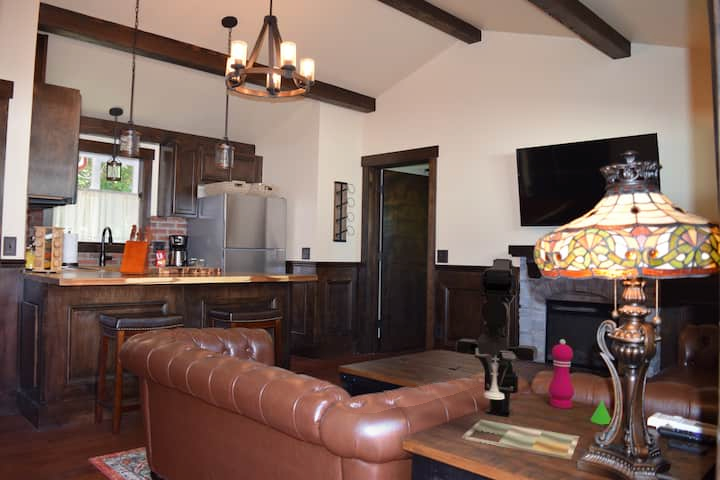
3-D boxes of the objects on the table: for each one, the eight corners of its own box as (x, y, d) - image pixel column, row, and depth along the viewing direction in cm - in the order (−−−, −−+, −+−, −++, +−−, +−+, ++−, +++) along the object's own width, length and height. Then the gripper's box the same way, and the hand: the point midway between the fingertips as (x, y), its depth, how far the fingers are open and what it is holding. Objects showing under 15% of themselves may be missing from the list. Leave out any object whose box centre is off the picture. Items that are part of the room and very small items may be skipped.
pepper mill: (543, 403, 169) (545, 337, 169) (563, 402, 171) (564, 337, 171) (558, 409, 162) (560, 341, 162) (578, 408, 164) (580, 341, 164)
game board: (480, 421, 146) (480, 419, 146) (579, 438, 135) (579, 436, 135) (461, 438, 131) (461, 436, 131) (570, 459, 120) (570, 457, 120)
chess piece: (505, 400, 130) (506, 358, 130) (483, 398, 131) (485, 356, 131) (504, 395, 135) (505, 354, 135) (483, 393, 136) (485, 352, 136)
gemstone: (598, 425, 147) (599, 403, 148) (585, 419, 153) (585, 397, 153) (618, 425, 148) (618, 403, 149) (604, 418, 154) (604, 397, 155)
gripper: (448, 319, 131) (446, 385, 130) (529, 327, 122) (527, 398, 121) (463, 316, 141) (461, 377, 140) (538, 322, 132) (537, 388, 131)
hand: (494, 385), depth 133 cm, fingers closed on chess piece
